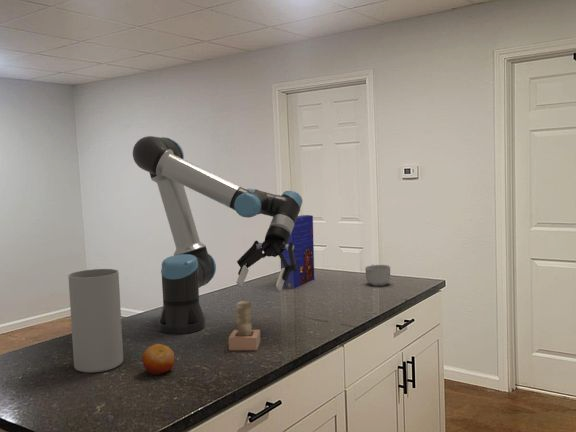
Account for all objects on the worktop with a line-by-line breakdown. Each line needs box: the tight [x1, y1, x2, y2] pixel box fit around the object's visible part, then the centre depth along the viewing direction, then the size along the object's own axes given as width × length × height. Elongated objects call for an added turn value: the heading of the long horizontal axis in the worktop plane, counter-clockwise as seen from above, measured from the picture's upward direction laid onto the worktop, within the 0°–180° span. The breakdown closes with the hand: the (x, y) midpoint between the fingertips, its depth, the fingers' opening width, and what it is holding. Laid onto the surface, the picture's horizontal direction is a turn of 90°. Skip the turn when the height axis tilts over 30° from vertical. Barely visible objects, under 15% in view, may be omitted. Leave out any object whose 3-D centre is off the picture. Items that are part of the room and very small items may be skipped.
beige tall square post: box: [236, 300, 253, 336], centre depth 159 cm, size 3×3×12 cm
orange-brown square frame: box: [228, 329, 261, 351], centre depth 159 cm, size 8×8×4 cm
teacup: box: [364, 264, 391, 287], centre depth 240 cm, size 14×11×8 cm
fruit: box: [141, 343, 175, 376], centre depth 140 cm, size 8×8×8 cm
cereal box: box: [279, 214, 315, 290], centre depth 245 cm, size 22×6×30 cm, turn 153°
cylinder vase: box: [68, 268, 124, 374], centre depth 145 cm, size 12×12×25 cm
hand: (258, 286), depth 166 cm, fingers open, 13 cm apart
